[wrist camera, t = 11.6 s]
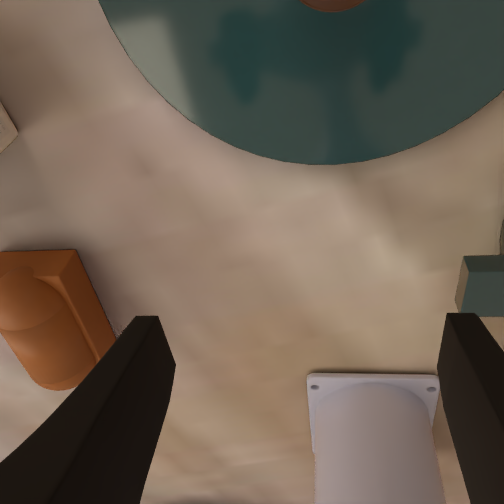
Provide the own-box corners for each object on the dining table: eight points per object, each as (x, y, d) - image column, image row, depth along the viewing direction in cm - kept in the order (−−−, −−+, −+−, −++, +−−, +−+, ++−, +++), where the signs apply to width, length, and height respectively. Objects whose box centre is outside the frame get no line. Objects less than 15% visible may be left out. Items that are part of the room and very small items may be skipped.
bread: (121, 348, 30) (97, 405, 27) (55, 347, 31) (25, 403, 28) (74, 245, 25) (38, 301, 22) (-3, 248, 26) (-49, 302, 23)
